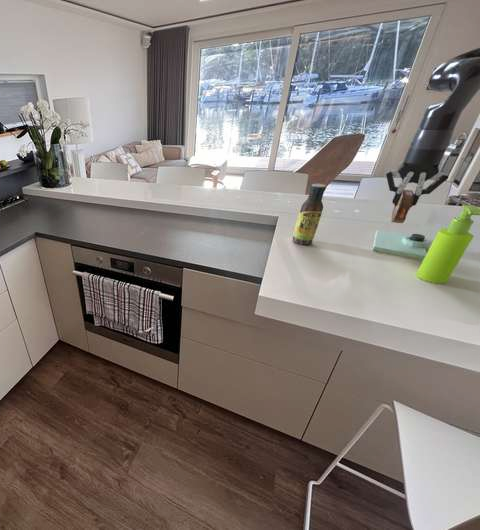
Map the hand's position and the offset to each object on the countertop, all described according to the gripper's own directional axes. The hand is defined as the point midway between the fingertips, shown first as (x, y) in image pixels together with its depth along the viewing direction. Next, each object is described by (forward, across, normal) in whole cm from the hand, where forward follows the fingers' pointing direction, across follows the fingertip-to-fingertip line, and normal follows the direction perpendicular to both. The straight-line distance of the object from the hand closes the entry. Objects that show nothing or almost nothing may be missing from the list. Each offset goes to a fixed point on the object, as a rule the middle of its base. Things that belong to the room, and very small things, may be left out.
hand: (402, 205), depth 88 cm
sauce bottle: (+13, +22, +12) cm, 28 cm away
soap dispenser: (+13, -10, +19) cm, 25 cm away
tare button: (+10, -6, 0) cm, 12 cm away
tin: (+5, 0, 0) cm, 5 cm away
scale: (+13, -3, 0) cm, 13 cm away
